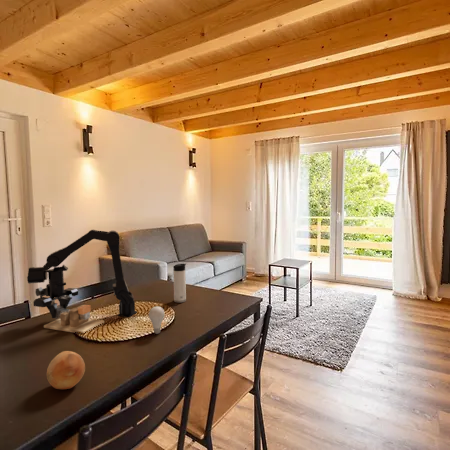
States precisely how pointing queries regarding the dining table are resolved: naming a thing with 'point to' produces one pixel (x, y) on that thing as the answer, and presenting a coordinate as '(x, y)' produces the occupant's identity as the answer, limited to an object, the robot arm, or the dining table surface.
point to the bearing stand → (73, 322)
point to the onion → (65, 370)
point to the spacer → (84, 309)
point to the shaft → (61, 310)
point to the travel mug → (179, 283)
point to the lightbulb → (156, 318)
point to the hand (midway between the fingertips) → (58, 316)
